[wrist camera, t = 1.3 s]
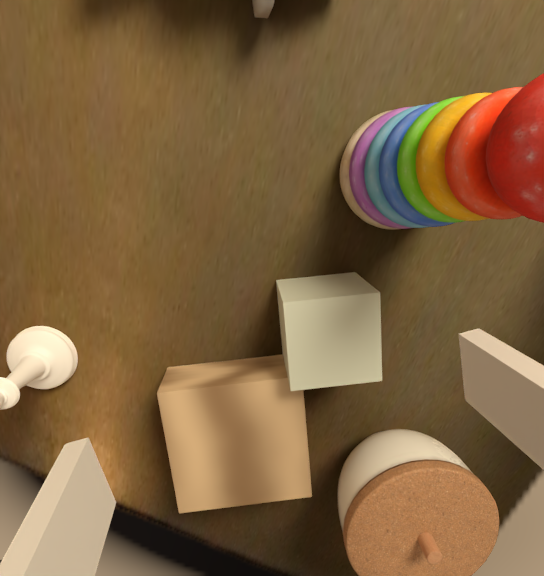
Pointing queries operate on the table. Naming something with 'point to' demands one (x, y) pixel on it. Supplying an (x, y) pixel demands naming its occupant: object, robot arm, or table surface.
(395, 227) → the stacking toy
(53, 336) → the chess piece
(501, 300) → the table surface
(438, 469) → the lidded jar
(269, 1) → the bunny figurine
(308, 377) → the cube
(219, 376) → the plinth
